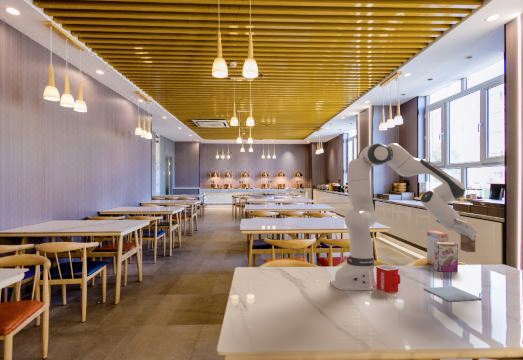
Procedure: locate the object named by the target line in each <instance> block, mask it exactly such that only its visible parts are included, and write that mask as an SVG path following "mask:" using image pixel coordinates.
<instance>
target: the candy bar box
mask: <svg viewBox="0 0 523 360" xmlns="http://www.w3.org/2000/svg"><path fill="white" fill-rule="evenodd" d="M458 262H459V244H458V243H455V242H448V243H446V242H435V260H434V265H433V266H434V270H435V271H436V272H440V273H441V272H442V273H443V272H444V273H458V272H459V270H458V269H459V265H458V264H459V263H458Z"/></svg>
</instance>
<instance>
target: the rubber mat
mask: <svg viewBox="0 0 523 360" xmlns="http://www.w3.org/2000/svg"><path fill="white" fill-rule="evenodd" d="M423 290H424V291H425V292H428V293H430V294H432V295H434V296H436V297H437V298H440V299H442V300H443V301H446V302H448V303H452V302H467V301H469V302H470V301H480V300H482V298H481V297H479V296H477V295H475V294H472V293H469V292H467V291H465V290H462V289H460V288H458V287H455V286H453V285H452V286H451V285H450V286H438V287H437V286H436V287H423Z"/></svg>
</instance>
